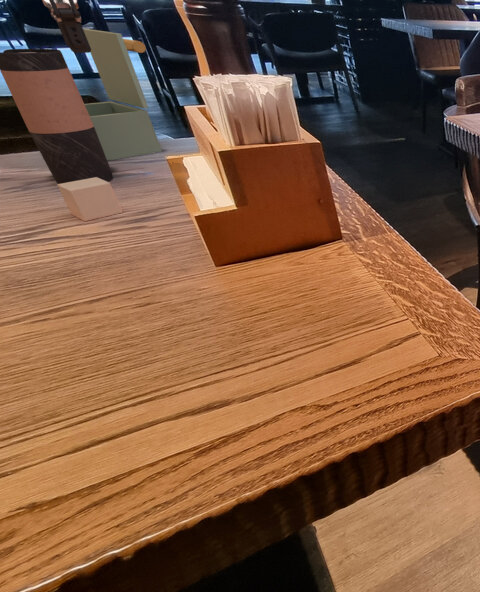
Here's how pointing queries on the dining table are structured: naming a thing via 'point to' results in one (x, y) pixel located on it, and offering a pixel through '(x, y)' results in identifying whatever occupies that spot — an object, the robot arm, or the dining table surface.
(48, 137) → the travel mug
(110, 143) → the chest
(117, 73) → the lid
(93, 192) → the block
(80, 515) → the dining table surface
